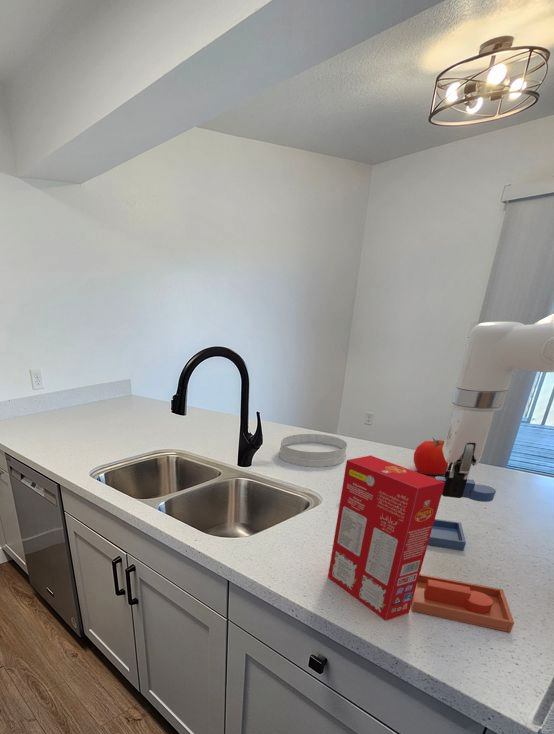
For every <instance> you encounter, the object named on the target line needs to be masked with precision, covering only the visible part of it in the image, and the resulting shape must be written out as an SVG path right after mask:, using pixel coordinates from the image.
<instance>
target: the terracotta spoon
mask: <svg viewBox="0 0 554 734" xmlns="http://www.w3.org/2000/svg"><path fill="white" fill-rule="evenodd" d="M424 596H425V599H428V600H433V601H438V602H442V603H447V604H452V605H457V606H462V607H464V608H465V609H467V610H469V611H471V612H474V613H479V614H486V613H489V612H490V610H491V607H492V605H493V600H492V598H491V597H489V596H488V595H486V594H484V593H481V592H478V591H470V587H466V586H461V585H455V584H450V583H445V582H440V581H434V580H429V579H428V581H427V585H426V588H425V591H424Z"/></svg>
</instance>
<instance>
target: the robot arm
mask: <svg viewBox="0 0 554 734" xmlns="http://www.w3.org/2000/svg"><path fill="white" fill-rule="evenodd" d="M516 370H523V371H531V372H537V373H554V313H553V314H551V315H548V316H546V317H544V318H542V319H540V320H538V321H536V322H534V323H533V324H524V323H522V322H518V321H486V322H481V323H478V324H476V325H474V326H473V328H472V329H471V331H470V332H469V336H468V340H467V344H466V348H465V351H464V355H463V359H462V363H461V367H460V371H459V374H458V378H457V382H456V384H455V385H456V386H455V389H454V393H453V397H452V401H451V403H450V406H451V407H452V408H455V409H454V411H453V414H452V417H451V420H450V423H449V426H448V429H447V433H446V436H445V439H444V441H445V442H444V445H443V455H444V458H445V461H446V462H447V463H448V466H447V471H445V473H444V475H443V477H447V478H446V482H445V485H444V489H443V492H442V495H441V496H442V497H444V498H445V497H446V498H455V499H462V498H463V497H462V495H463V492H464V489H465V485H466V482H467V479H469V478H468V477H469V474H470V470H471V466H473V467H474V466H477V465H479V463H480V462H481V458H482V455H483V453H484V449H485V446H486V443H487V439H488V436H489V433H490V428H491V425H492V421H493V417H494V413H495V412H498V411H502V409H503V408H504V404H505V401H506V397H507V396H508V395H507V394H508V392H509V388H510V385H511V383H512V379H513V376H514V372H515V371H516Z"/></svg>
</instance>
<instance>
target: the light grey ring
mask: <svg viewBox="0 0 554 734" xmlns="http://www.w3.org/2000/svg"><path fill="white" fill-rule="evenodd" d="M347 445H348V443H347V442H346V441H345V440H344V439H341V438H340V437H337V436H336V437H335V436H334V435H333V436H332V435H329V434H328V435H327V434H319V433H301V434H293V435H288V436H286V437H283V438H282V439H281V441H280V447H279V458H280V459H281V460H282V461H284V462H286V463H289V464H292V465H296V466H300V467H308V468H309V467H310V468H322V467H323V468H324V467H333V466H337V465H340V464H342V463H343V462H345V460H346V456H347Z"/></svg>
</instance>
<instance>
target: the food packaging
mask: <svg viewBox="0 0 554 734" xmlns="http://www.w3.org/2000/svg"><path fill="white" fill-rule="evenodd" d="M434 478H435V477H431V476H430V475H429V476H428V475H427V474H423V473H420V472H419V471H415V470H412V469H410V468H406V467H405V466H401V465H398V464H396V463H392V462H390V461H387V460H385V459H382V458H379V457H376V456H374V455H370V454H369V455H365V456H360V457H356V458H355V457H354V458H349V459H347V460H346V464H345V468H344V475H343V482H342V487H341V494H340V499H339V506H338V512H337V518H336V525H335V531H334V537H333V542H332V543H333V544H332V548H331V555H330V560H329V567H328V574H327V578H328V579H330V580H331V581H332V582H333V583H335V584H336V585H338V586H339V587H341V588H342V589H343V590H344V591H345V592H347V593H349V595H351V596H353V598H355V599H356V600H357V601H359V602H361V604H363V605H364V606H365V607H367V608H368V609H369V610H371V611H372V612H374V613H375V614H377V615H378V616H379V617H380V618H382V619H383V620H384V621H388V620H391V619H394V618H397V617H400V616H404V615H406V614H409V613H410V610H411V608H412V600H413V596H414V592H415V589H416V585H417V582H418V578H419V574H421V570H422V567H423V563H424V560H425V557H426V552H427V550H428V546H429V545H428V542H429V538H430V535H431V531H432V528H433V524H434V520H435V519H436V517H437V513H438V509H439V506H440V502H441V498H442V496H443V495H442V491H443V488H444V484H445V482H443V481H440V480H437V479H434Z"/></svg>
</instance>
